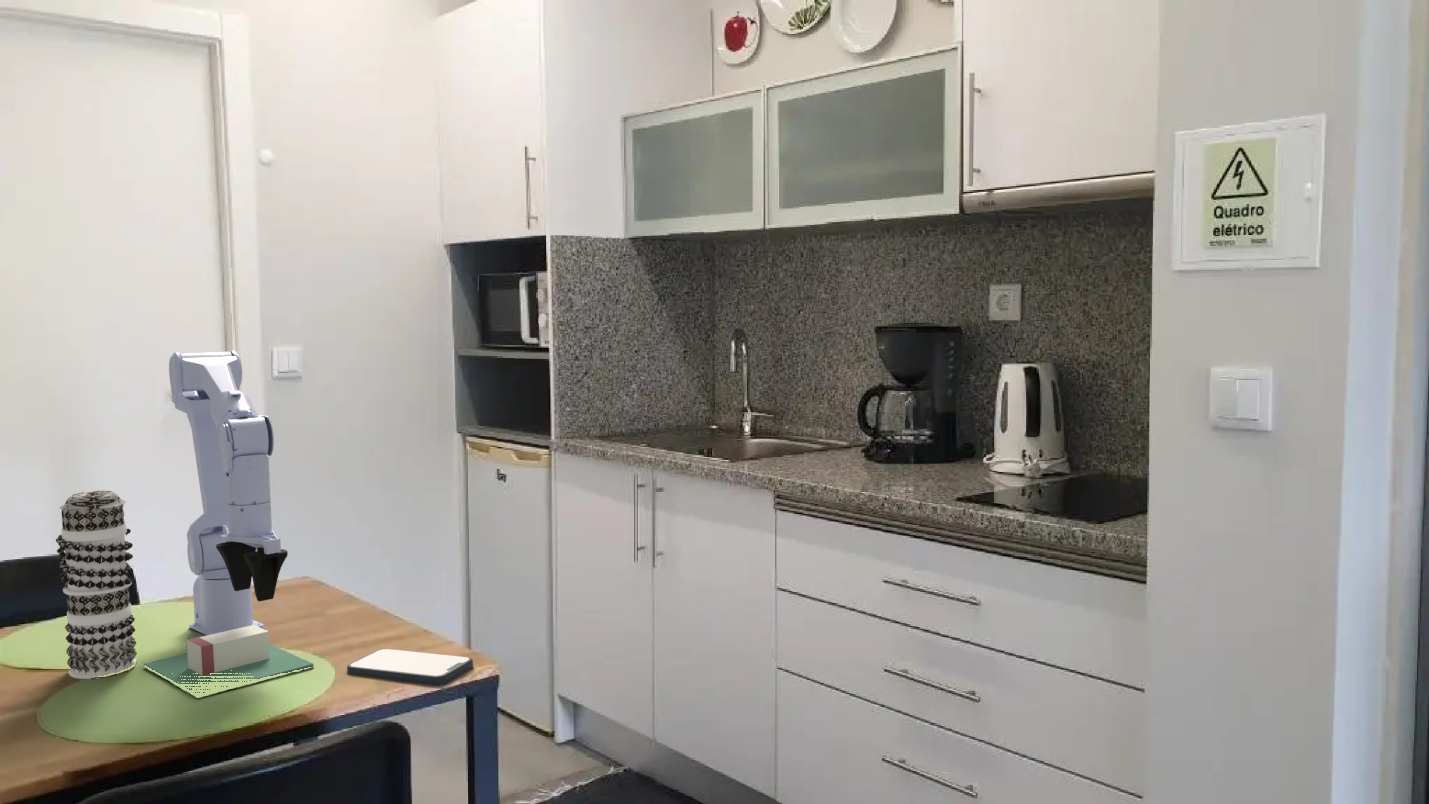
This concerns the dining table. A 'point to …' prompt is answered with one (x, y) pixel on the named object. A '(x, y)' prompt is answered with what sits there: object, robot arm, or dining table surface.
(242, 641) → the card deck
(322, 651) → the dining table surface
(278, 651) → the card mat
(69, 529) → the decorative candle
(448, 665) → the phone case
